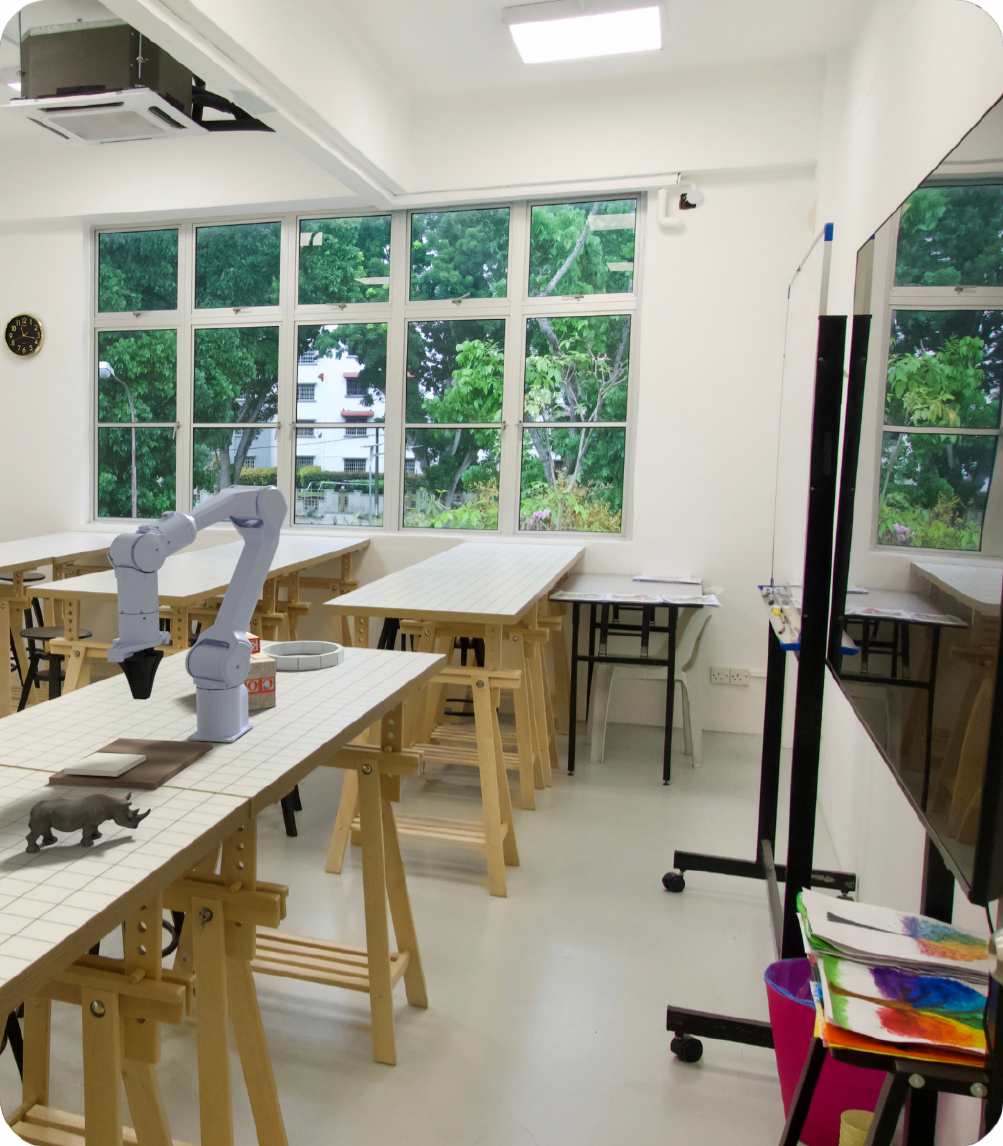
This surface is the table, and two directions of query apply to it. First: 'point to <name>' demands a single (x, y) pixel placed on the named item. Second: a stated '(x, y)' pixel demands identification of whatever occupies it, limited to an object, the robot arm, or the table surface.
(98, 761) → the tile
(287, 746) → the table surface
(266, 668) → the stack of blocks
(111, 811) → the rhino figurine
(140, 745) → the board
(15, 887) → the table surface
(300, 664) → the shell dish rim
